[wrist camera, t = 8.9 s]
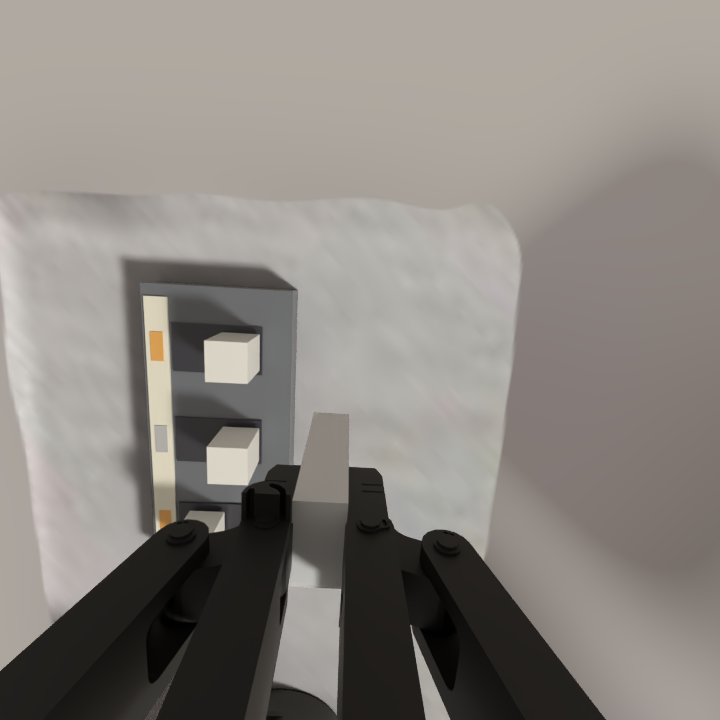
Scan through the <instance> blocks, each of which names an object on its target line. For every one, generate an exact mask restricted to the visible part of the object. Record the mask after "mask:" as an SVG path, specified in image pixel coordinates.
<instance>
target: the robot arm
mask: <svg viewBox="0 0 720 720" xmlns="http://www.w3.org/2000/svg"><path fill="white" fill-rule="evenodd" d="M289 578H290V582H289ZM288 583H289V587H311V588H336V589H342V590H341V604H340V618H339V627H340V635H339V666H338V697H337V716H336V715H335V713H334V712H333V711H332V710H331V709H330V708H329V707H328V706H327V705H325V704H324V703H322V702H321V701H319V700H318V699H316V698H314V697H312V696H309V695H307V694H304V693H300V692H296V691H291V690H271V688H272V683H273V677H274V672H275V666H276V661H277V655H278V650H279V645H280V639H281V634H282V628H283V623H284V617H285V612H286V607H287V596H288ZM410 625H412V630H413V634H414V636H415V639H416V641H417V643H418V645H419V648H420V650H421V652H422V655H423V657H424V659H425V662H426V664H427V666H428V669H429V671H430V673H431V675H432V678H433V680H434V682H435V685H436V687H437V689H438V692H439V694H440V696H441V699H442V701H443V703H444V705H445V708H446V710H447V712H448V715H449V717H450V719H451V720H606V719H605V718H604V717H603V715H602V714H601V713H600V712H599V710H598V709H597V708H596V706H595V705H594V704H593V703H592V701H591V700H590V699H589V697H588V696H587V695H586V693H585V692H584V691H583V690H582V688H581V687H580V686H579V684H578V683H577V682H576V681H575V679H574V678H573V677H572V675H571V674H570V673H569V671H568V670H567V669H566V668H565V666H564V665H563V664H562V662H561V661H560V660H559V658H558V657H557V656H556V655H555V653H554V652H553V651H552V649H551V648H550V647H549V645H548V644H547V643H546V641H545V640H544V639H543V638H542V636H541V635H540V634H539V632H538V631H537V630H536V628H535V627H534V626H533V625H532V623H531V622H530V621H529V619H528V618H527V617H526V615H525V614H524V613H523V612H522V610H521V609H520V608H519V607H518V605H517V604H516V602H515V601H514V600H513V599H512V597H511V596H510V595H509V593H508V592H507V591H506V590H505V588H504V587H503V586H502V584H501V583H500V582H499V580H498V579H497V578H496V577H495V575H494V574H493V573H492V572H491V570H490V569H489V567H488V566H487V565H486V564H485V562H484V561H483V560H482V558H481V557H480V556H479V554H478V553H477V552H476V551H475V549H474V548H473V547H472V545H471V544H470V543H469V542H468V541H467V540H466V539H465V538H464V537H462V536H460V535H459V534H457V533H455V532H451V531H447V530H433V531H430V532H428V533H426V534H425V535H424V536H423V539H422V541H420V540H416V539H413V538H410V537H407V536H404V535H402V534H401V533H399V532H397V531H396V530H395V529H394V526H393V523H392V521H391V520H390V519H389V518H388V512H387V506H386V499H385V493H384V486H383V479H382V476H381V474H380V473H379V472H378V471H377V470H376V469H375V468H358V467H349V414H334V413H316V412H314V415H313V419H312V423H311V427H310V431H309V436H308V440H307V444H306V448H305V452H304V456H303V460H302V464H301V466H300V465H281V464H277V465H275V466H274V467H273V468H272V469H270V470H269V471H268V473H267V475H266V478H265V481H261V482H257V483H253V484H251V485H249V486H248V487H246V488H245V489H244V490H243V491H242V492H241V522H240V524H239V526H237V527H234V528H232V529H229V530H224V531H219V532H213V533H209V527H208V526H207V525H206V524H205V523H204V522H201V521H199V520H191V519H186V520H180V521H176V522H173V523H170V524H168V525H166V526H164V527H163V528H161V529H160V530H158V531H157V532H156V533H155V534H154V535H153V536H152V537H151V538H149V539H148V540H147V541H146V542H145V543H144V544H143V545H142V546H140V547H139V548H138V549H137V550H136V551H135V552H134V553H133V554H131V555H130V556H129V557H128V558H127V559H126V560H125V561H124V562H122V563H121V564H120V565H119V566H118V567H117V568H116V569H115V570H113V571H112V572H111V573H110V574H109V575H108V576H107V577H106V578H104V579H103V580H102V581H101V582H100V583H99V584H98V585H97V586H95V587H94V588H93V589H92V590H91V591H90V592H89V593H88V594H86V595H85V596H84V597H83V598H82V599H81V600H80V601H79V602H77V603H76V604H75V605H74V606H73V607H72V608H71V609H70V610H68V611H67V612H66V613H65V614H64V615H63V616H62V617H61V618H59V619H58V620H57V621H56V622H55V623H54V624H53V625H52V626H50V627H49V628H48V629H47V630H46V631H45V632H44V633H43V634H41V635H40V636H39V637H38V638H37V639H36V640H35V641H34V642H32V643H31V644H30V645H29V646H28V647H27V648H26V649H25V650H23V651H22V652H21V653H20V654H19V655H18V656H17V657H16V658H15V659H13V660H12V661H11V662H10V663H9V664H8V665H7V666H6V667H4V668H3V669H2V670H1V671H0V720H144V719H145V717H146V716H147V714H148V713H149V711H150V710H151V708H152V707H153V706H154V704H155V703H156V701H157V700H158V698H159V697H160V695H161V694H162V692H163V691H164V689H165V688H166V686H167V685H168V683H169V682H170V681H171V679H172V678H173V676H174V675H175V677H174V679H173V681H172V684H171V686H170V688H169V691H168V693H167V695H166V698H165V700H164V702H163V705H162V707H161V710H160V712H159V714H158V717H157V719H156V720H426V719H425V713H424V707H423V701H422V694H421V688H420V682H419V676H418V670H417V664H416V658H415V652H414V646H413V640H412V633H411V627H410ZM175 673H176V674H175Z"/></svg>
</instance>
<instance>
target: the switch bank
mask: <svg viewBox="0 0 720 720" xmlns="http://www.w3.org/2000/svg"><path fill="white" fill-rule="evenodd" d="M140 298H141V316H142V333H143V351H144V368H145V386H146V403H147V421H148V438H149V456H150V473H151V491H152V508H153V526H154V534H155V533H156V532H157V531H158V530H160V529H161V528H163V527H164V526H166V525H168V524H170V523H173V522H176V521H180V520H184V519H185V517H186V516H187V514H188V513H189V511H213V512H224V514H225V530H229V529H232V528H234V527H237V526H239V524H240V522H241V492H242V491H243V490H244V489H245V488H246V487H248V486H249V485H251V484H253V483H257V482H261V481H265V478H266V475H267V473H268V471H269V470H270V469H272V468H273V467H274V466H275V465H277V464H281V465H293V453H294V415H295V376H296V338H297V299H298V290H289V289H272V288H255V287H238V286H221V285H204V284H187V283H170V282H140ZM221 332H227V333H245V334H260V371H259V372H258V373H257V374H256V375H255V376H254V377H253V378H252V380H251V381H250V382H249V383H248V384H237V383H216V382H205V361H204V340H206V339H208V338H210V337H213V336H215V335H217V334H219V333H221ZM222 427H243V428H259V462H258V464H257V466H256V468H255V471H254V473H253V475H252V477H251V479H250V481H249V483H248V485H223V484H207V446H208V445H209V443H210V442H211V441H212V440H213V439H214V437H215V436H216V435H217V434H218V432H219V431H220V430H221V429H222Z"/></svg>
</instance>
